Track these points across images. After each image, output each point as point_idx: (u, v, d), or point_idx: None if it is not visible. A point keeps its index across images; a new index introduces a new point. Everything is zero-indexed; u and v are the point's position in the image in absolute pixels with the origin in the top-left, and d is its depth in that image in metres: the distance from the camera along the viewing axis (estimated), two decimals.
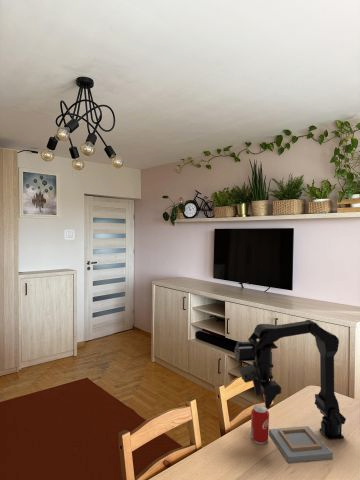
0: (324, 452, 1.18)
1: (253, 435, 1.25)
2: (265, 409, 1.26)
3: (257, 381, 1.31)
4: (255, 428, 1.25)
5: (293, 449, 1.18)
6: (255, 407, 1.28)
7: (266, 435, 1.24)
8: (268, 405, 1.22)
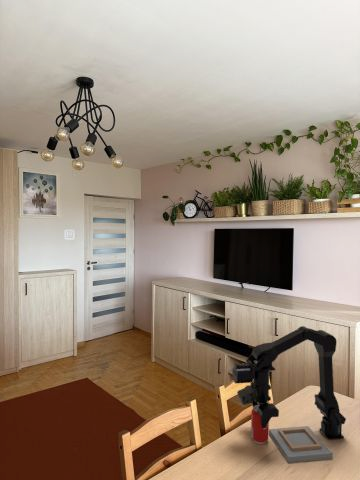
0: (324, 452, 1.18)
1: (253, 435, 1.25)
2: None
3: (256, 404, 1.30)
4: (255, 428, 1.25)
5: (293, 449, 1.18)
6: (255, 407, 1.28)
7: (266, 435, 1.24)
8: (264, 425, 1.23)
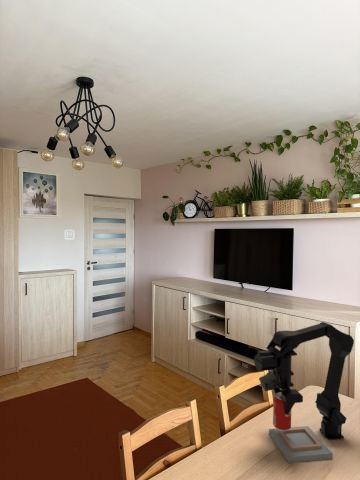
0: (324, 452, 1.18)
1: (276, 422, 1.24)
2: None
3: (278, 390, 1.28)
4: (277, 416, 1.23)
5: (293, 449, 1.18)
6: (277, 394, 1.26)
7: (289, 422, 1.23)
8: (288, 412, 1.21)
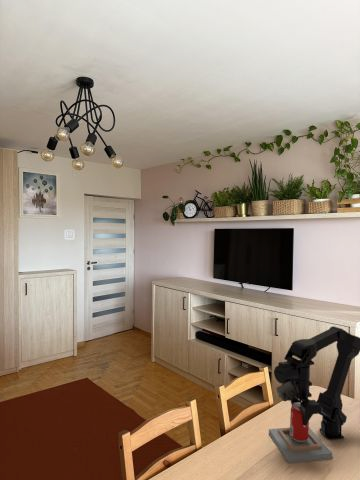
0: (324, 452, 1.18)
1: (293, 433, 1.22)
2: None
3: (295, 400, 1.27)
4: (295, 426, 1.22)
5: (293, 449, 1.18)
6: (294, 405, 1.25)
7: (306, 433, 1.22)
8: (306, 422, 1.20)
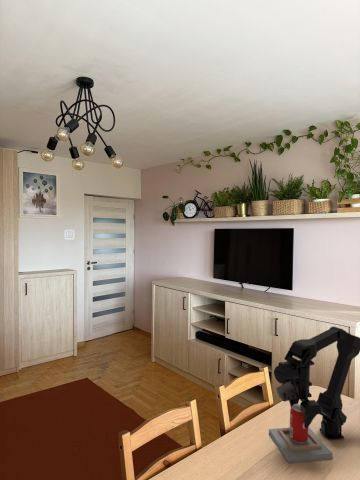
0: (324, 452, 1.18)
1: (293, 435, 1.23)
2: None
3: (293, 399, 1.28)
4: (294, 428, 1.22)
5: (293, 449, 1.18)
6: (294, 406, 1.25)
7: (306, 434, 1.22)
8: (307, 425, 1.19)
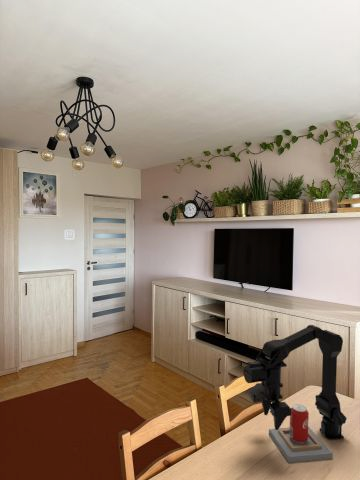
0: (324, 452, 1.18)
1: (293, 435, 1.23)
2: (304, 408, 1.24)
3: (265, 400, 1.27)
4: (294, 428, 1.22)
5: (293, 449, 1.18)
6: (294, 406, 1.25)
7: (306, 434, 1.22)
8: (278, 427, 1.17)
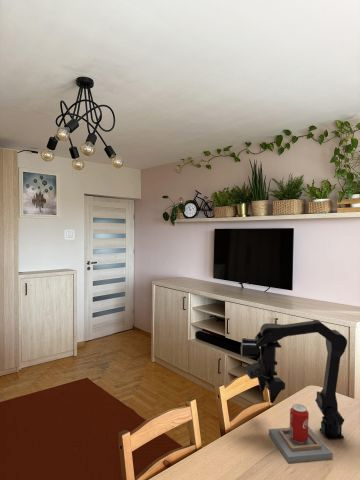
0: (324, 452, 1.18)
1: (293, 435, 1.23)
2: (304, 408, 1.24)
3: (262, 378, 1.38)
4: (294, 428, 1.22)
5: (293, 449, 1.18)
6: (294, 406, 1.25)
7: (306, 434, 1.22)
8: (272, 400, 1.28)
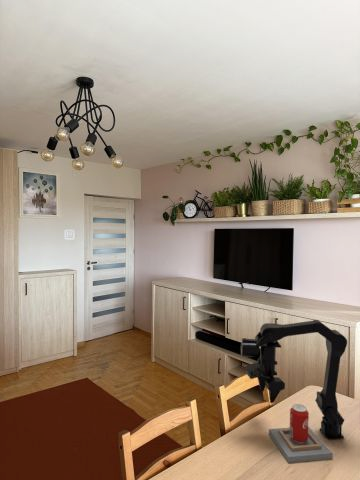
0: (324, 452, 1.18)
1: (293, 435, 1.23)
2: (304, 408, 1.24)
3: (262, 378, 1.38)
4: (294, 428, 1.22)
5: (293, 449, 1.18)
6: (294, 406, 1.25)
7: (306, 434, 1.22)
8: (272, 400, 1.28)
